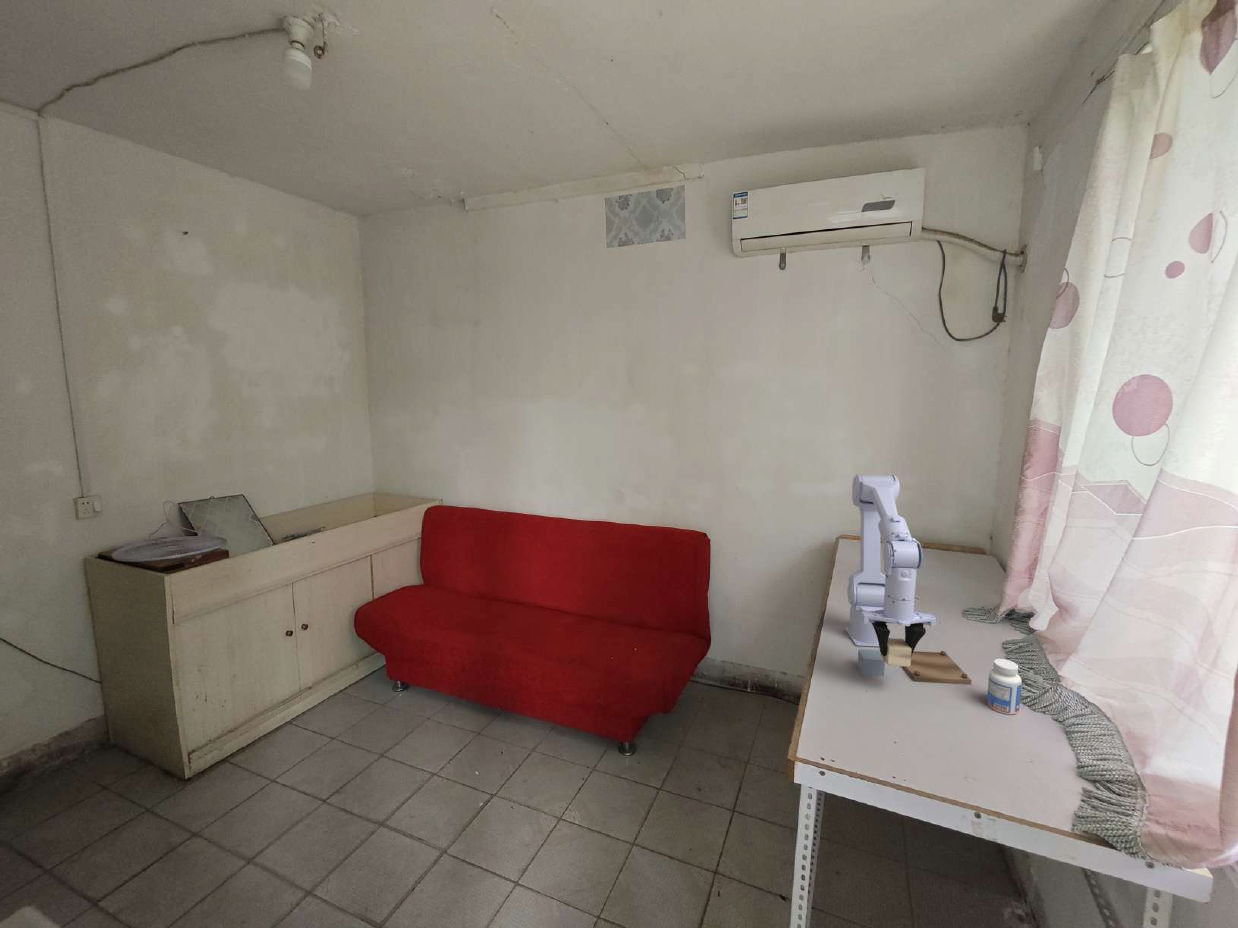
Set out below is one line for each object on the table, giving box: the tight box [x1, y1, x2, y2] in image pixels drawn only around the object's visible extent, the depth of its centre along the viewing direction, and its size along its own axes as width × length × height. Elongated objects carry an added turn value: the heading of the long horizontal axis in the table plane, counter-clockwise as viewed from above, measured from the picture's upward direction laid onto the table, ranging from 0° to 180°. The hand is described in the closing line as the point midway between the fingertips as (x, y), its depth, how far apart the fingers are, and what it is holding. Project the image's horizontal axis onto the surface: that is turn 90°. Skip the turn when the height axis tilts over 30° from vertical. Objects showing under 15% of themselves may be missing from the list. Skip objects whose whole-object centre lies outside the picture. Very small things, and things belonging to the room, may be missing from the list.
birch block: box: [880, 637, 912, 667], centre depth 112 cm, size 4×4×4 cm
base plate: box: [902, 650, 973, 685], centre depth 121 cm, size 12×12×2 cm
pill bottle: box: [986, 658, 1023, 715], centre depth 106 cm, size 6×5×10 cm
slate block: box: [857, 648, 886, 677], centre depth 121 cm, size 4×4×4 cm
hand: (895, 654), depth 112 cm, fingers closed on birch block, 4 cm apart
